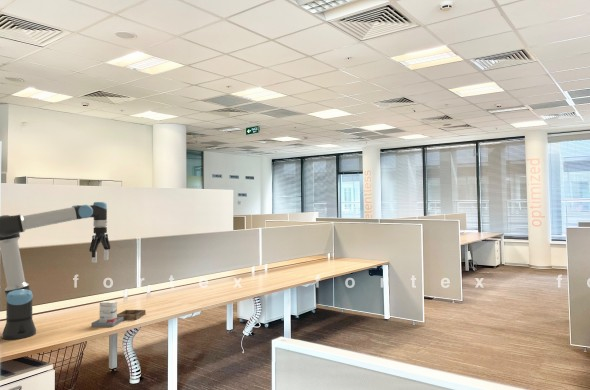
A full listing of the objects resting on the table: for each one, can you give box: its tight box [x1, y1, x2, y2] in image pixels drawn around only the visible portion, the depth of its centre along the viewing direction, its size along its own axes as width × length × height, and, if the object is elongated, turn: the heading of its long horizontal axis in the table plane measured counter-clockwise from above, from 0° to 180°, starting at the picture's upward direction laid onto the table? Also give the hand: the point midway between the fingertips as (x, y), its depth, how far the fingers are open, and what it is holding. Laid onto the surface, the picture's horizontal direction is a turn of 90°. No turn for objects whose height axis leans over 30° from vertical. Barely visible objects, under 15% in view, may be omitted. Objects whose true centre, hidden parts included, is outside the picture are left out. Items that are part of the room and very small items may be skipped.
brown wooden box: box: [117, 309, 146, 321], centre depth 260 cm, size 13×13×3 cm
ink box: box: [99, 300, 118, 323], centre depth 246 cm, size 9×5×12 cm, turn 79°
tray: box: [91, 317, 125, 328], centre depth 246 cm, size 13×13×2 cm
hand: (100, 261), depth 260 cm, fingers open, 13 cm apart
